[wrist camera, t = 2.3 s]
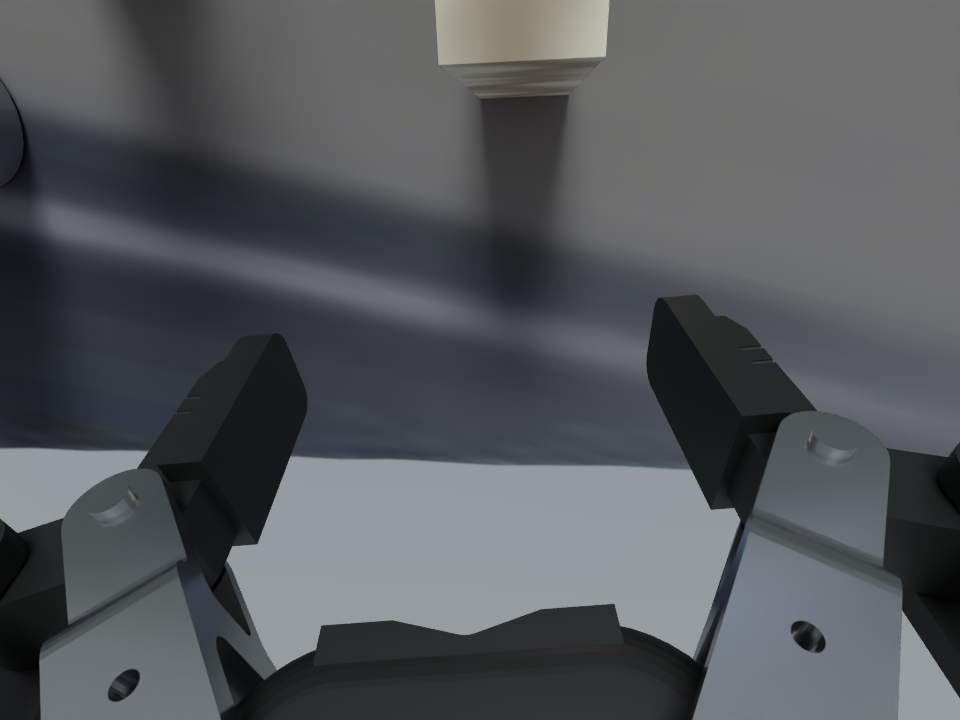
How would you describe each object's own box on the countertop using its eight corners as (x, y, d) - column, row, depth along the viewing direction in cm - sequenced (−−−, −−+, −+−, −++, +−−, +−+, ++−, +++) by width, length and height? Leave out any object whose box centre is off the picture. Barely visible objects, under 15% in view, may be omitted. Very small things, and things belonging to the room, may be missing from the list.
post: (480, 98, 27) (438, 65, 15) (477, -10, 25) (425, -158, 12) (568, 94, 27) (605, 56, 14) (573, -16, 25) (621, -177, 12)
